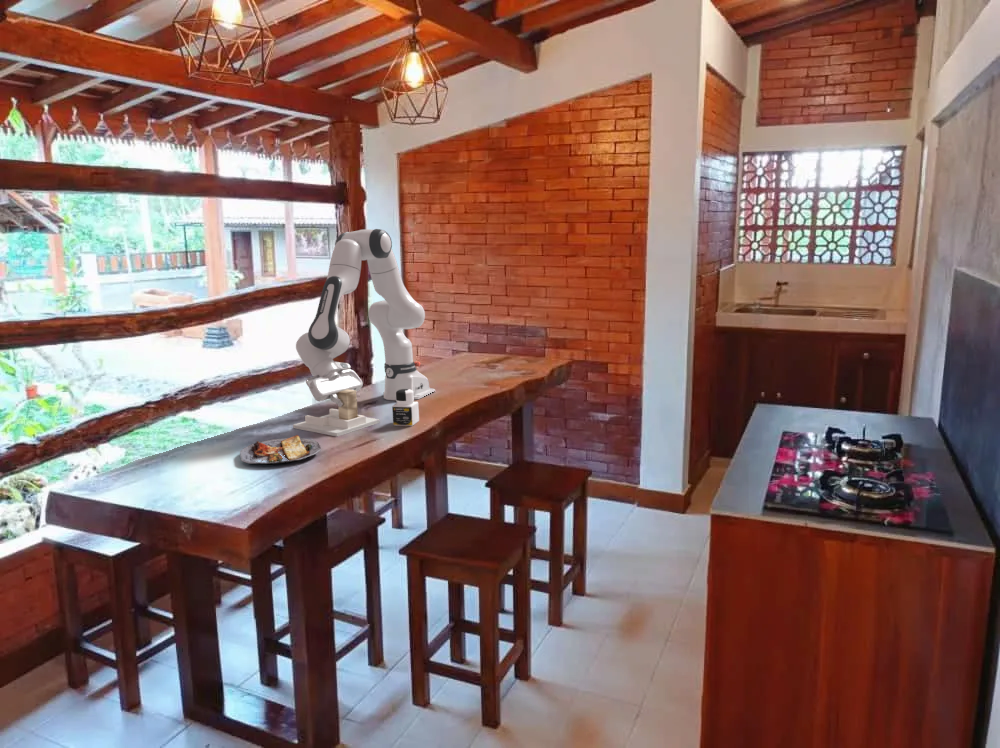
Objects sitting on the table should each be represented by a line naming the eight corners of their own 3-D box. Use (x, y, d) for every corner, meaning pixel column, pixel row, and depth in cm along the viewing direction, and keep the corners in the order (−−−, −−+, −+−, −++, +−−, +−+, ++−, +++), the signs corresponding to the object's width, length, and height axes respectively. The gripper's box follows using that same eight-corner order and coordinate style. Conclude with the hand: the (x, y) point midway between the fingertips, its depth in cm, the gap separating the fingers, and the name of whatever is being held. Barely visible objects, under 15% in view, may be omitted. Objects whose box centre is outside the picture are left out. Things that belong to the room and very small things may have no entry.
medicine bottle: (393, 425, 255) (391, 392, 253) (400, 420, 262) (398, 387, 260) (412, 426, 253) (410, 392, 251) (419, 421, 260) (417, 387, 258)
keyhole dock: (336, 415, 272) (335, 405, 271) (379, 422, 260) (379, 412, 259) (293, 428, 256) (292, 417, 255) (337, 436, 244) (336, 425, 243)
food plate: (239, 448, 233) (238, 438, 232) (314, 440, 241) (313, 430, 240) (242, 474, 210) (241, 462, 209) (325, 464, 218) (324, 452, 217)
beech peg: (349, 419, 257) (346, 389, 255) (358, 421, 254) (356, 390, 252) (339, 422, 253) (337, 391, 251) (348, 424, 251) (346, 393, 249)
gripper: (307, 372, 246) (329, 404, 242) (352, 362, 262) (373, 392, 259) (299, 384, 249) (321, 416, 246) (344, 373, 266) (365, 403, 262)
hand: (348, 403), depth 252 cm, fingers closed on beech peg, 4 cm apart
